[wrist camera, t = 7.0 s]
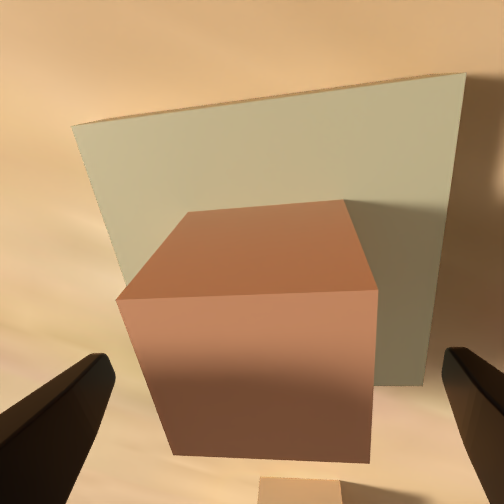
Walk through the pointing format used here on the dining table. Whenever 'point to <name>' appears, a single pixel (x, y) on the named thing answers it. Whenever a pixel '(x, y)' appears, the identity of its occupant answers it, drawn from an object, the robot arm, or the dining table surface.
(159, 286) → the orange brown cube
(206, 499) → the dining table surface
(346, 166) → the base plate
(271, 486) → the brick cream
